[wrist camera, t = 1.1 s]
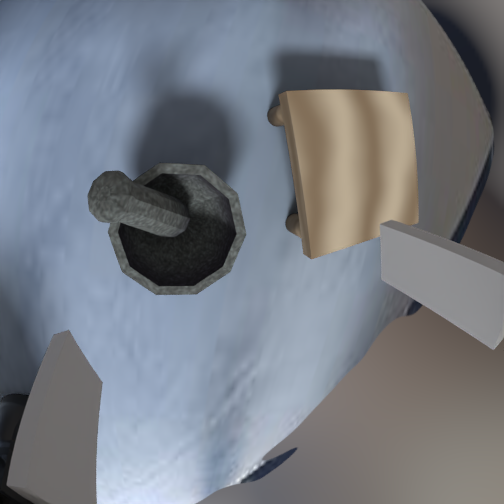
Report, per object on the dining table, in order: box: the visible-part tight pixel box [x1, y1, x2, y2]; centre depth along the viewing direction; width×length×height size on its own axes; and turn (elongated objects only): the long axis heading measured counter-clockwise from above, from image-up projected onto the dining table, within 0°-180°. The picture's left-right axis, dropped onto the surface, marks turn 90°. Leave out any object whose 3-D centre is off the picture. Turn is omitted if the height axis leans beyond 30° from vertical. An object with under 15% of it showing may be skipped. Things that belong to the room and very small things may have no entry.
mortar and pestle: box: [88, 163, 246, 295], centre depth 20 cm, size 11×9×12 cm
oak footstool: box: [267, 90, 418, 259], centre depth 26 cm, size 14×14×6 cm
